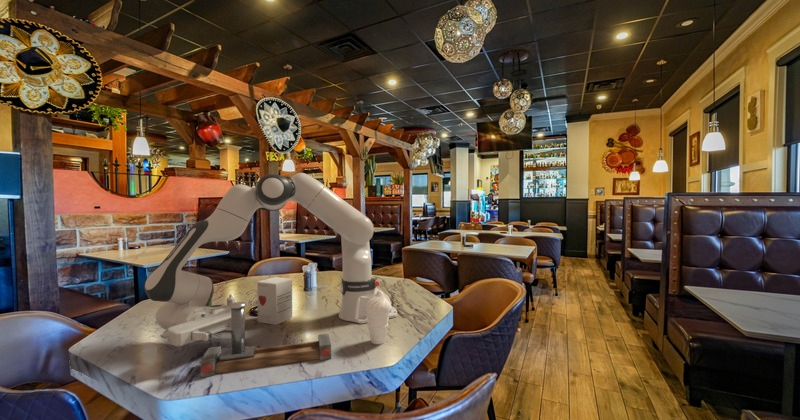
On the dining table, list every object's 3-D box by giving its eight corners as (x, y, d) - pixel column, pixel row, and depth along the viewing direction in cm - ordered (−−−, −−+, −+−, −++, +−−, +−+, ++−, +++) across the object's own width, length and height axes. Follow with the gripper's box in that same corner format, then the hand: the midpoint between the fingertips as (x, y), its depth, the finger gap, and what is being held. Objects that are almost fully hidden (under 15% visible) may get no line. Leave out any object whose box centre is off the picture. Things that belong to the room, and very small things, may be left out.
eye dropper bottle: (234, 331, 111) (233, 296, 111) (219, 330, 112) (218, 295, 112) (242, 327, 115) (242, 293, 115) (228, 326, 116) (227, 292, 116)
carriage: (255, 352, 91) (255, 300, 91) (253, 359, 87) (253, 304, 87) (223, 357, 89) (222, 303, 88) (220, 363, 85) (219, 307, 85)
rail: (328, 346, 99) (328, 333, 99) (331, 359, 91) (331, 344, 91) (209, 362, 89) (208, 347, 89) (200, 378, 81) (199, 362, 81)
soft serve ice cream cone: (370, 349, 97) (370, 295, 96) (360, 339, 104) (360, 289, 104) (396, 343, 100) (395, 292, 100) (384, 334, 108) (384, 286, 108)
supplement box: (256, 322, 120) (256, 281, 120) (274, 314, 128) (274, 276, 128) (276, 325, 117) (275, 283, 116) (293, 317, 125) (292, 278, 125)
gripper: (156, 323, 88) (186, 332, 81) (228, 302, 106) (257, 308, 99) (157, 346, 88) (187, 357, 81) (228, 321, 106) (257, 329, 99)
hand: (226, 330), depth 90 cm, fingers open, 8 cm apart
